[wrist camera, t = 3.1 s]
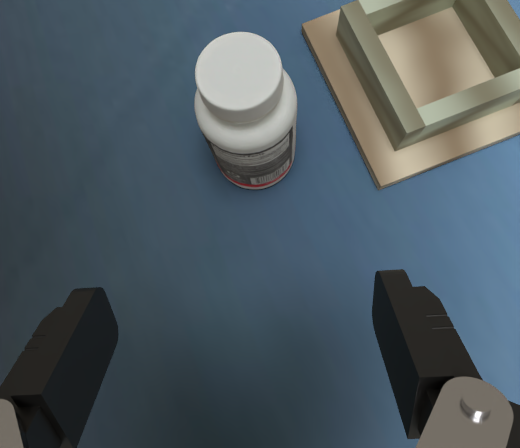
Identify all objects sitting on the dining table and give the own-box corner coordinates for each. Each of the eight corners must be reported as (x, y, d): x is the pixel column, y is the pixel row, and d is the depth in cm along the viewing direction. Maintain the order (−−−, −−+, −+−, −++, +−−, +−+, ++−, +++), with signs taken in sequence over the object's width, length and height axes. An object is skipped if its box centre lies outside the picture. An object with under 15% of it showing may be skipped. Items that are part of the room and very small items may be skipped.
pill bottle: (223, 113, 28) (192, 11, 19) (300, 122, 28) (306, 22, 18) (209, 186, 27) (168, 117, 18) (289, 196, 27) (290, 131, 17)
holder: (378, 190, 26) (391, 171, 23) (301, 31, 29) (303, -6, 26) (560, 118, 27) (600, 89, 23) (466, -32, 30) (489, -77, 26)
